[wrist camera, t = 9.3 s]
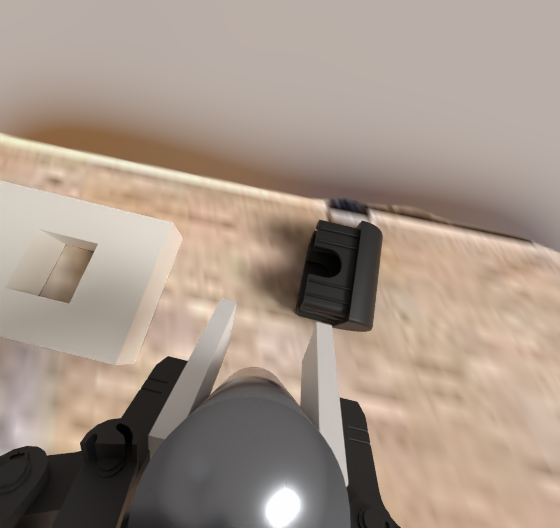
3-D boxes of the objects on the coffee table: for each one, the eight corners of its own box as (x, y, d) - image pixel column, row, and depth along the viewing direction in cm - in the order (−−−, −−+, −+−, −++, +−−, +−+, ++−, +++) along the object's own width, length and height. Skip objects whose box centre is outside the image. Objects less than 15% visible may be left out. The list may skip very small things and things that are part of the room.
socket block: (-41, 320, 27) (-89, 315, 23) (31, 201, 32) (1, 180, 28) (135, 363, 27) (115, 365, 23) (182, 238, 32) (172, 222, 28)
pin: (206, 436, 15) (85, 642, 4) (227, 359, 16) (173, 376, 6) (278, 453, 15) (331, 701, 4) (293, 376, 16) (363, 422, 6)
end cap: (356, 334, 30) (383, 329, 23) (293, 319, 30) (302, 310, 23) (367, 251, 33) (393, 226, 27) (310, 237, 33) (322, 209, 27)
